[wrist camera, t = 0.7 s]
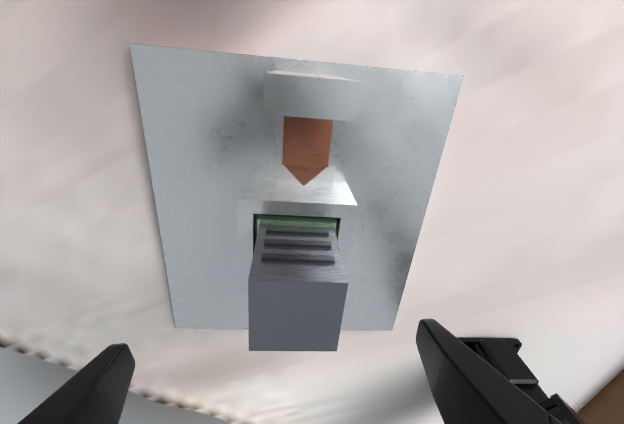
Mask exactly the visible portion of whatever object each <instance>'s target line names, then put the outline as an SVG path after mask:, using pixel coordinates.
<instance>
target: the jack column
mask: <svg viewBox="0 0 624 424" xmlns="http://www.w3.org/2000/svg"><path fill="white" fill-rule="evenodd" d="M335 231H336V220H335V218H331V217H314V216H293V215H272V214H262V215H258V218H257V239H256V244H255V249H254V254H253V258H252V263H251V268H250V273H249V278H248V316H249V351H337V346H338V340H339V334H340V329H341V323H342V317H343V312H344V306H345V300H346V294H347V289H348V279H347V275H346V271H345V268H344V264H343V260H342V256H341V252H340V248H339V245H338V241H337V237H336V233H335Z"/></svg>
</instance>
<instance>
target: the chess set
mask: <svg viewBox="0 0 624 424" xmlns="http://www.w3.org/2000/svg"><path fill="white" fill-rule="evenodd" d="M577 414H578V415H579V416H580V417H581V419H582V420H583V421H584V422H585V423H586V424H624V370H623V371H622V372H621V373H620V374H619V375H617V376H616V377H615V378H614V379H613V380H612V381H611V382H610V383H609V384H608V385H607V386H606V387H605V388H604V389H603V390H602V391H601V392H600V393H598V394H597V395H596V396H595V397H594V398H593V399H592V400H591V401H590V402H589V403H588V404H587V405H586V406H585V407H584V408H583V409H582V410H580V411H579V412H578V413H577Z"/></svg>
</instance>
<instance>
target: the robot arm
mask: <svg viewBox="0 0 624 424" xmlns="http://www.w3.org/2000/svg"><path fill="white" fill-rule="evenodd" d="M416 344H417V347H418V350H419V354H420V357H421V360H422V363H423V366H424V370H425V373H426V376H427V379H428V382H429V386H430V389H431V392H432V394H433V397H434V399H435V402H436V404H437V407H438V409H439V411H440V414H441V416H442V419H443V421H444V423H445V424H586V423H585V422H584V421H583V420H582V419H581V417H580V416H579V415H578V414H577V413H576V412H575V411H574V410H573V409H572V408H571V407H570V406H569V405H568V404H567V403H566V402H565V401H564V400H563V399H562V398H561V397H560V396H559V395H558V394H557V393H556V394H554V395H552V396H550V397H551V398H548V397H547V396H546V394H545V393H544V392H543V390H542V389H541V388H540V386H539V385H538V380H537V378H536V377H535V376H534V375H533V373H532V372H531V371H530V370H529V368H528V367H527V366H526V364H525V363H524V362H523V361H522V359H521V358H520V357H519V356H518V354H517V353H518V351H519V349H520V347H521V346H522V343H521V342H520V341H519V340H518V339H508V338H456V337H455V336H454V335H453V334H451V333H450V332H449V331H448V330H446V329H445V328H444V327H443V326H442V325H440V324H439V323H438V322H437V321H435V320H434V319H422V320H420V321H419V325H418V330H417V334H416ZM134 369H135V361H134V358H133V356H132V354H131V351H130V349H129V347H128V345H127V344H125V343H122V344H112V345H110V346H108V347H107V348H106V349H105V350H103V351H102V352H101V353H100V354H99V355H98V356H96V357H95V358H94V359H93V360H92V361H91V362H89V363H88V364H87V365H86V366H85V367H84V368H82V369H81V370H80V371H79V372H78V373H77V374H75V375H74V376H73V377H72V378H71V379H69V380H68V381H67V382H66V383H65V384H64V385H62V386H61V387H60V388H59V389H58V390H57V391H55V392H54V393H53V394H52V395H51V396H50V397H48V398H47V399H46V400H45V401H44V402H43V403H42V404H40V405H39V406H38V407H37V408H35V409H34V410H33V411H32V412H31V413H30V414H29V415H27V416H26V417H25V418H24V419H23V420H21V421H20V422H19V423H18V424H118V423H119V419H120V417H121V413H122V410H123V406H124V403H125V399H126V396H127V393H128V389H129V386H130V382H131V379H132V376H133V372H134Z"/></svg>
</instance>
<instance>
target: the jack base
mask: <svg viewBox="0 0 624 424" xmlns="http://www.w3.org/2000/svg"><path fill="white" fill-rule="evenodd" d="M129 44H130V43H129ZM130 50H131V56H132V62H133V69H134V75H135V81H136V87H137V93H138V99H139V106H140V112H141V118H142V124H143V130H144V136H145V143H146V149H147V155H148V161H149V167H150V173H151V179H152V186H153V192H154V198H155V204H156V210H157V216H158V223H159V229H160V235H161V241H162V247H163V253H164V260H165V266H166V272H167V278H168V284H169V290H170V297H171V303H172V309H173V315H174V321H175V327H176V328H234V329H249V316H248V278H249V273H250V268H251V263H252V258H253V254H254V249H255V244H256V239H257V218H258V215H262V214H272V215H293V216H314V217H331V218H335V220H336V231H335V233H336V237H337V241H338V245H339V248H340V252H341V256H342V260H343V264H344V268H345V271H346V275H347V279H348V289H347V294H346V300H345V306H344V312H343V317H342V323H341V329H340V330H392V329H393V326H394V322H395V318H396V315H397V311H398V308H399V304H400V301H401V297H402V294H403V290H404V287H405V283H406V279H407V276H408V272H409V269H410V265H411V262H412V258H413V255H414V251H415V247H416V244H417V240H418V237H419V233H420V230H421V226H422V223H423V219H424V215H425V212H426V208H427V205H428V201H429V198H430V194H431V191H432V187H433V183H434V180H435V176H436V173H437V169H438V166H439V162H440V159H441V155H442V152H443V148H444V144H445V141H446V137H447V134H448V130H449V127H450V123H451V120H452V116H453V112H454V109H455V105H456V102H457V98H458V95H459V91H460V88H461V84H462V80H463V77H464V76H461V75H451V74H441V73H430V72H420V71H410V70H399V69H389V68H379V67H368V66H358V65H347V64H337V63H327V62H316V61H306V60H296V59H285V58H275V57H265V56H254V55H244V54H234V53H223V52H213V51H202V50H192V49H182V48H171V47H161V46H151V45H140V44H130Z"/></svg>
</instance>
